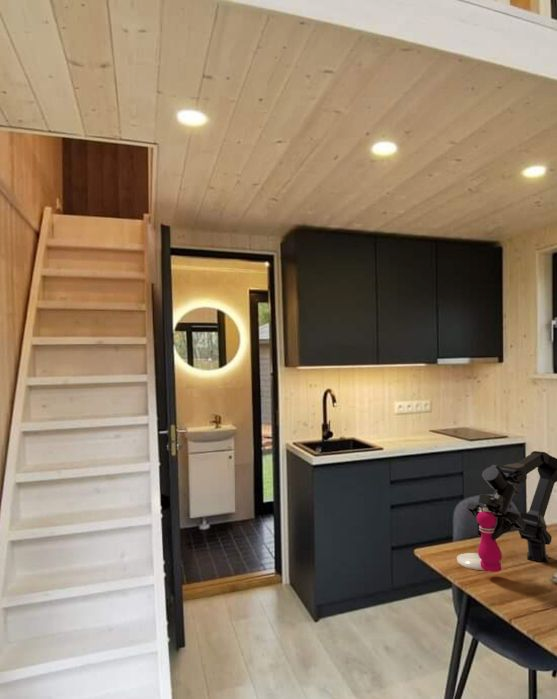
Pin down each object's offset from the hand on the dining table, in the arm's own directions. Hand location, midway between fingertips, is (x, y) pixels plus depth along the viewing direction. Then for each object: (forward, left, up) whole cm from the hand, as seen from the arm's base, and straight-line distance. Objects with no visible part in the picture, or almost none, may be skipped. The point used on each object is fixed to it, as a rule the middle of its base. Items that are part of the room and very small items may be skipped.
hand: (485, 537), depth 144 cm
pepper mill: (-1, +1, -10) cm, 10 cm away
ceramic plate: (-12, -6, -13) cm, 19 cm away
